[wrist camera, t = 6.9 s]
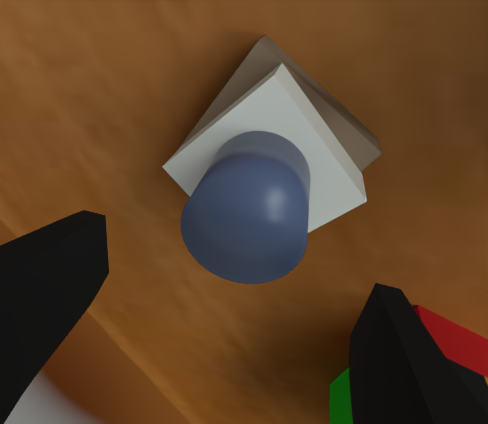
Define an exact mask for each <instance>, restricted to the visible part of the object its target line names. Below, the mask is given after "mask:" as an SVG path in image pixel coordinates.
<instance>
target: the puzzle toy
mask: <svg viewBox="0 0 488 424" xmlns="http://www.w3.org/2000/svg"><path fill="white" fill-rule="evenodd" d="M413 309H414V310H415V312H416V313H417V315H418V316H419V318H420V319H421V321H422V322H423V324H424V325H425V327H426V328H427V330H428V331H429V333H430V335H431V336H432V338H433V339H434V340H435V342H436V343H437V345H438V346H439V348H440V349H441V351H442V352H443V354H444V355H445V357H446V358H447V359H448V361H449V362H450V364H451V365H452V367H453V368H454V369H455V371H456V372H457V374H458V375H459V376H460V378H461V379H462V380H463V382H464V383H465V385H466V386H467V387H468V389H469V390H470V391H471V393H472V394H473V395H474V396H475V398H476V399H477V400H478V402H479V403H480V404H481V406H482V407H483V408H484V410H485V411H486V412H487V413H488V339H486V338H484V337H482V336H480V335H478V334H475V333H473V332H471V331H469V330H467V329H465V328H463V327H461V326H459V325H457V324H455V323H453V322H451V321H449V320H447V319H445V318H443V317H441V316H439V315H437V314H435V313H433V312H431V311H429V310H427V309H425V308H423V307H421V306H419V305H417V306H416V307H414V308H413ZM330 424H353V419H352V408H351V395H350V383H349V367H348V368H347V369H346V370H345V371H344V372H343V373H342V374H341V375H340V376H338V377H337V378H336V379H335V380H334V381H333V382H332V383H331V384H330Z"/></svg>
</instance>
